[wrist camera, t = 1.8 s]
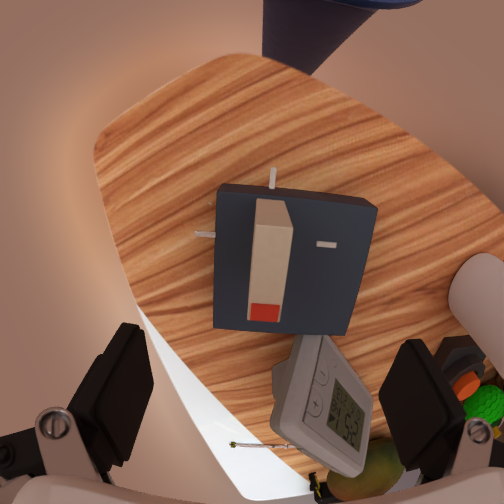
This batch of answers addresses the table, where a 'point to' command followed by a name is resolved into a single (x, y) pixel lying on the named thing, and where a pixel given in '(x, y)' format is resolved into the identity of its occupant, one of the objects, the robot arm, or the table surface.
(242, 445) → the missile
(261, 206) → the knob
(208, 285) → the table surface
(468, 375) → the button
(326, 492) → the tape measure
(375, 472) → the fruit
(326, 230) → the panel
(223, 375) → the table surface
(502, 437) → the terrain model
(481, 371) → the button box
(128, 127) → the table surface
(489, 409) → the ornament
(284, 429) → the digital clock
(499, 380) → the decorative rock
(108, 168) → the table surface
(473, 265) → the pill bottle
